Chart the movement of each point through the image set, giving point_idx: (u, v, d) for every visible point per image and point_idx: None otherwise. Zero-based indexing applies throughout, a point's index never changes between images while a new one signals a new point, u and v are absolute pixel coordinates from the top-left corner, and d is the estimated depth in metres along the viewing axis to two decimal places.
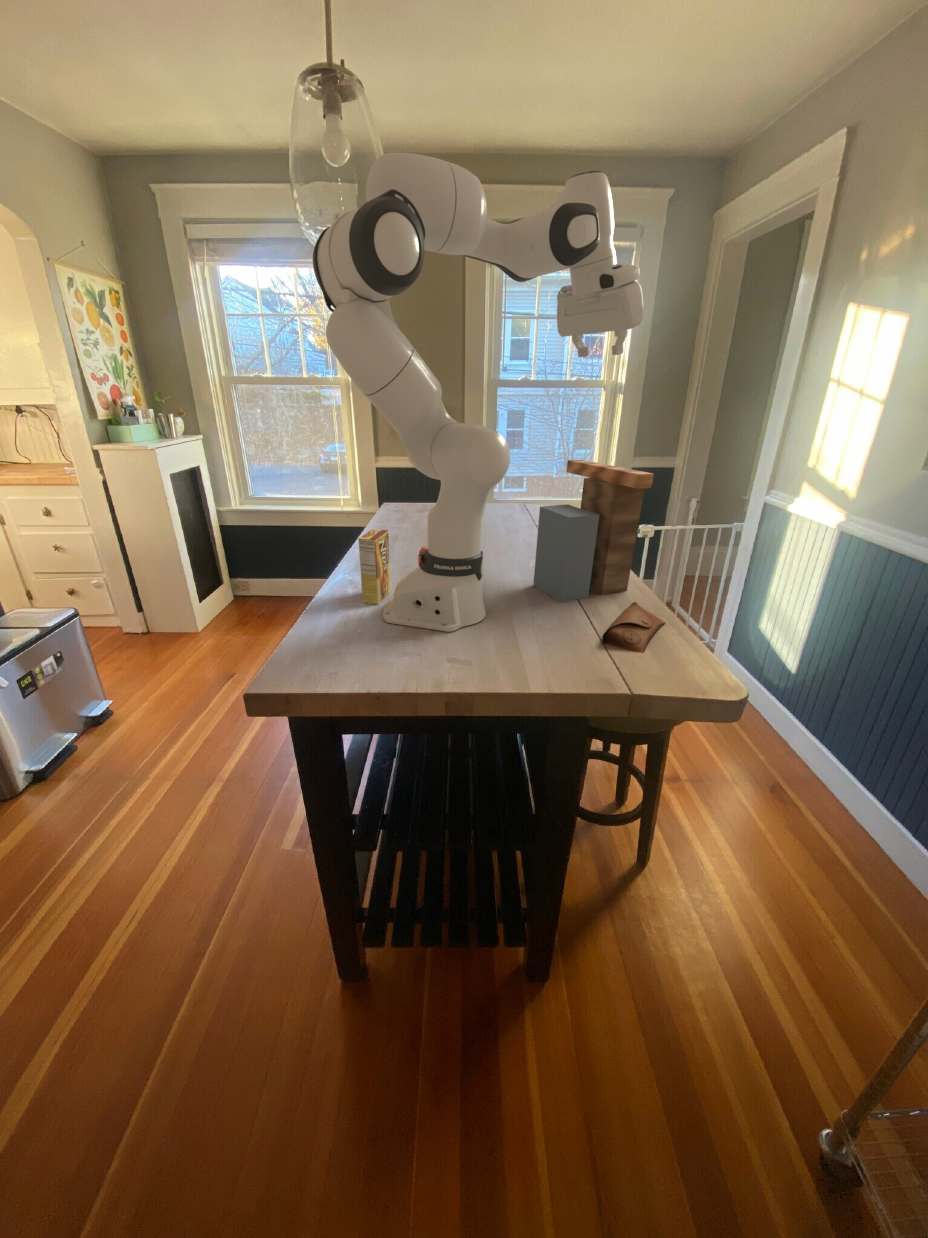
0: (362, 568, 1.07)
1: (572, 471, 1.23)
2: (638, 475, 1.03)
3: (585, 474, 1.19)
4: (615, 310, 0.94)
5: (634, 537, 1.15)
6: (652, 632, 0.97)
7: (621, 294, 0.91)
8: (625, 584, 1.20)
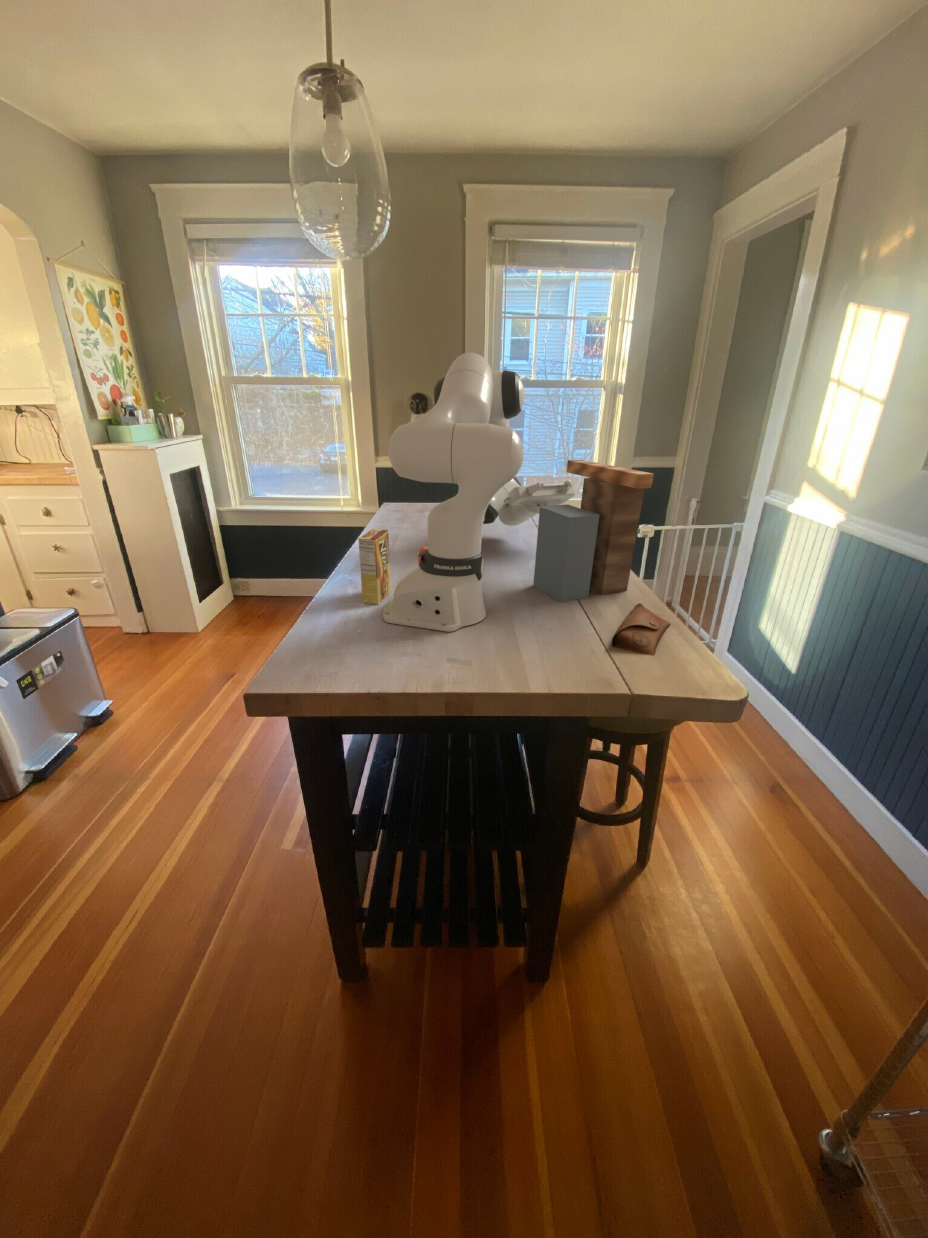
0: (362, 568, 1.07)
1: (572, 471, 1.23)
2: (638, 475, 1.03)
3: (585, 474, 1.19)
4: None
5: (634, 537, 1.15)
6: (660, 634, 0.96)
7: None
8: (625, 584, 1.20)
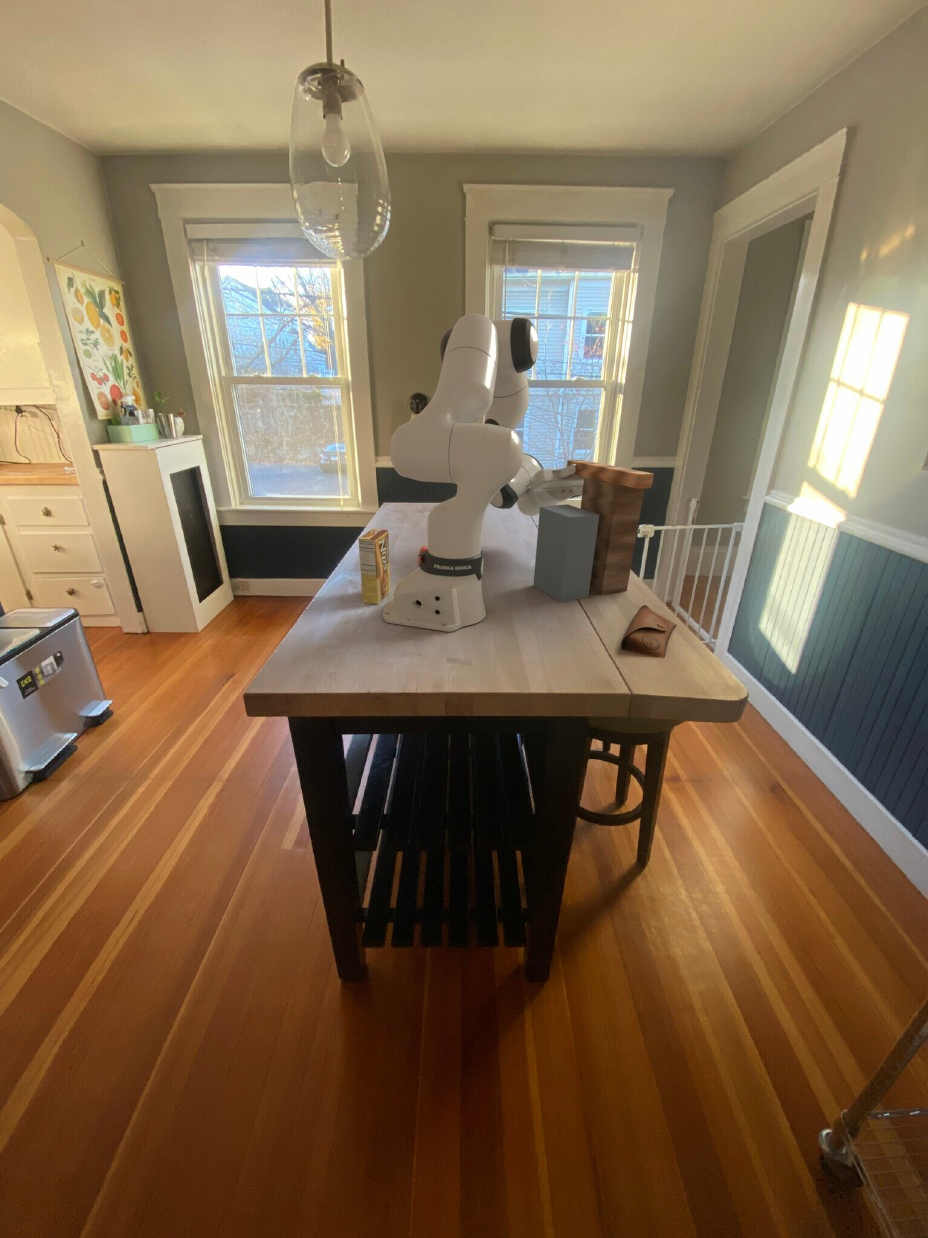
0: (362, 568, 1.07)
1: None
2: (638, 475, 1.03)
3: (585, 474, 1.19)
4: None
5: (634, 537, 1.15)
6: (668, 636, 0.96)
7: None
8: (625, 584, 1.20)
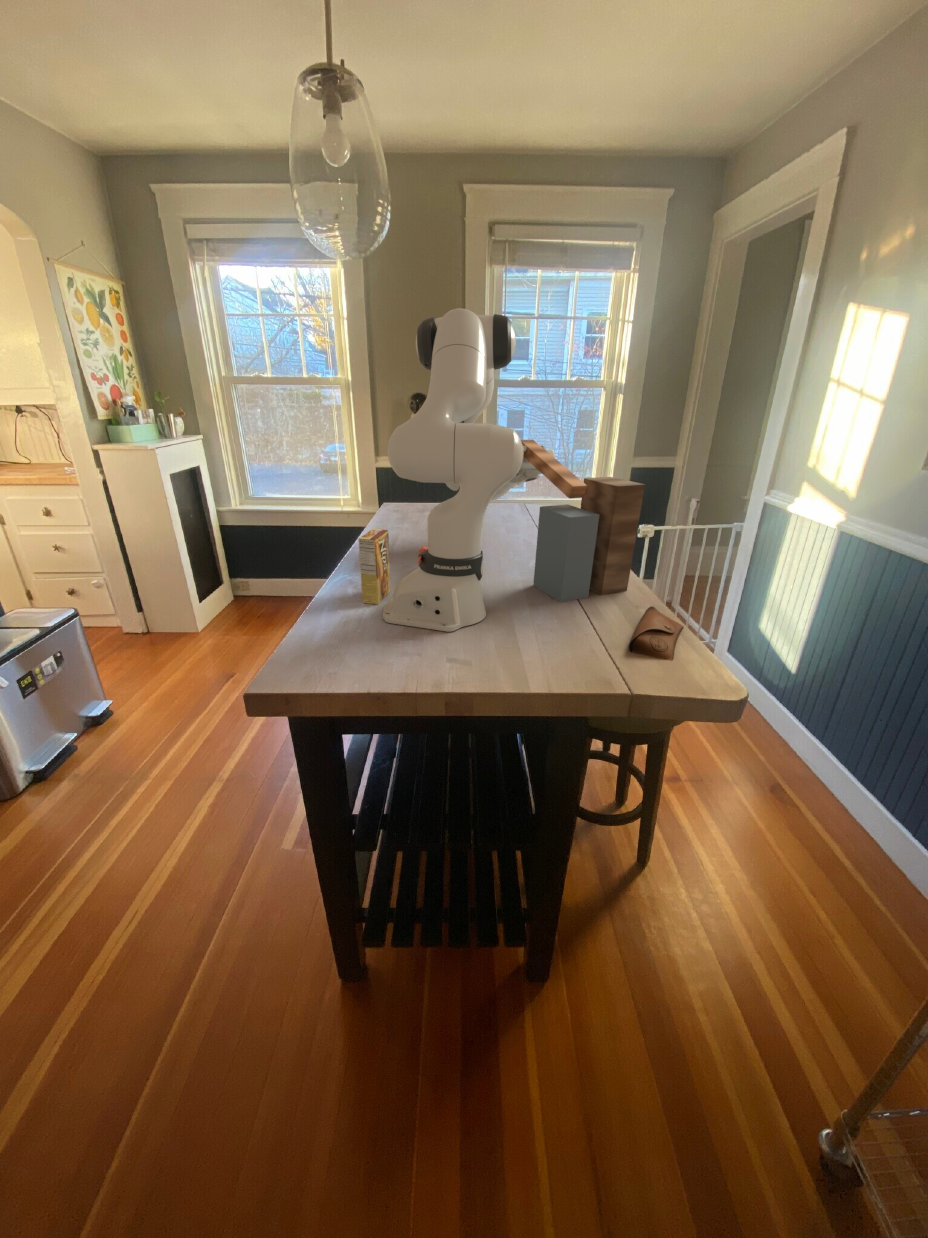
0: (362, 568, 1.07)
1: None
2: (571, 486, 1.10)
3: (532, 462, 1.23)
4: None
5: (634, 537, 1.15)
6: (676, 638, 0.95)
7: None
8: (625, 584, 1.20)
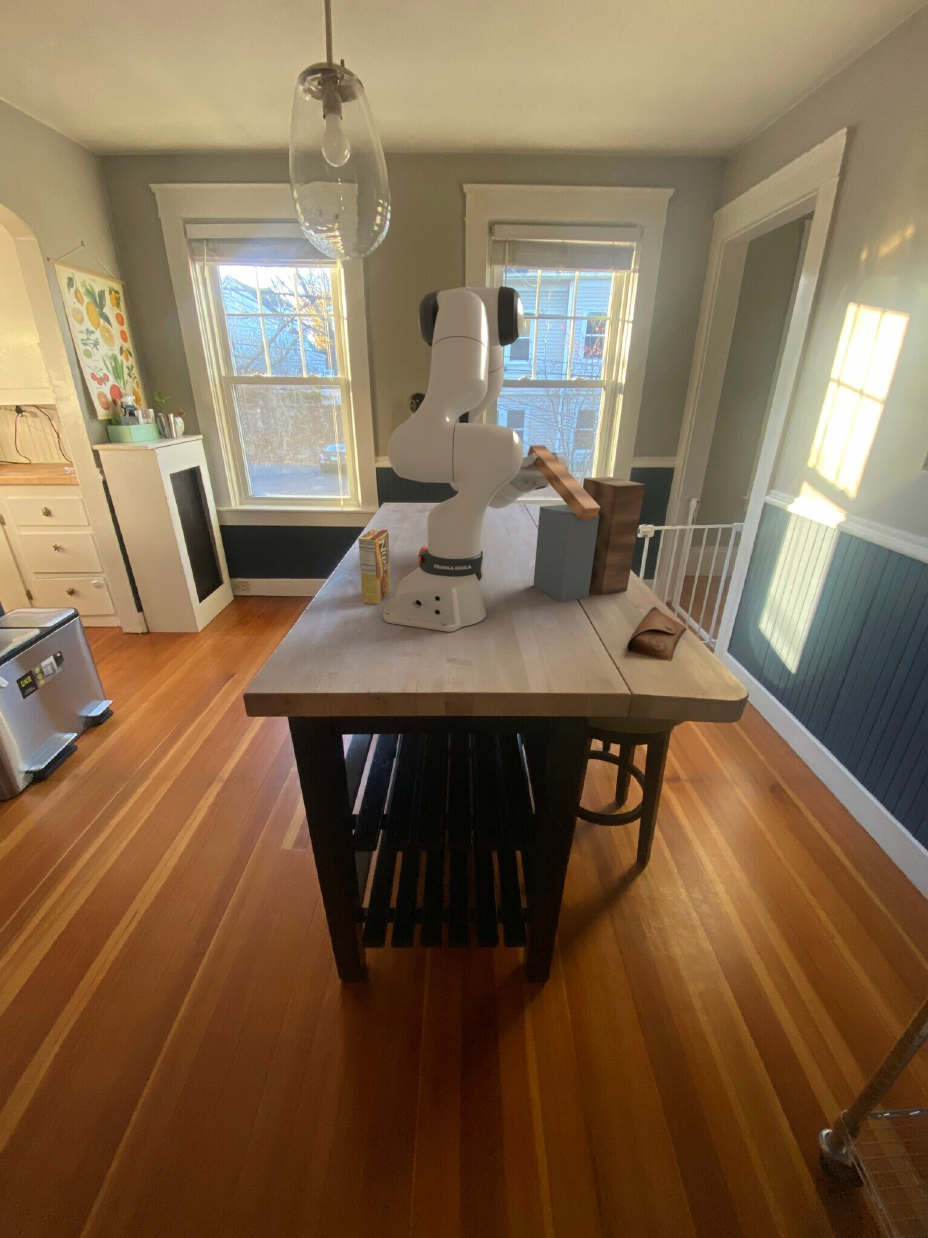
0: (362, 568, 1.07)
1: None
2: (584, 508, 1.03)
3: (542, 472, 1.15)
4: None
5: (634, 537, 1.15)
6: (677, 638, 0.94)
7: None
8: (625, 584, 1.20)
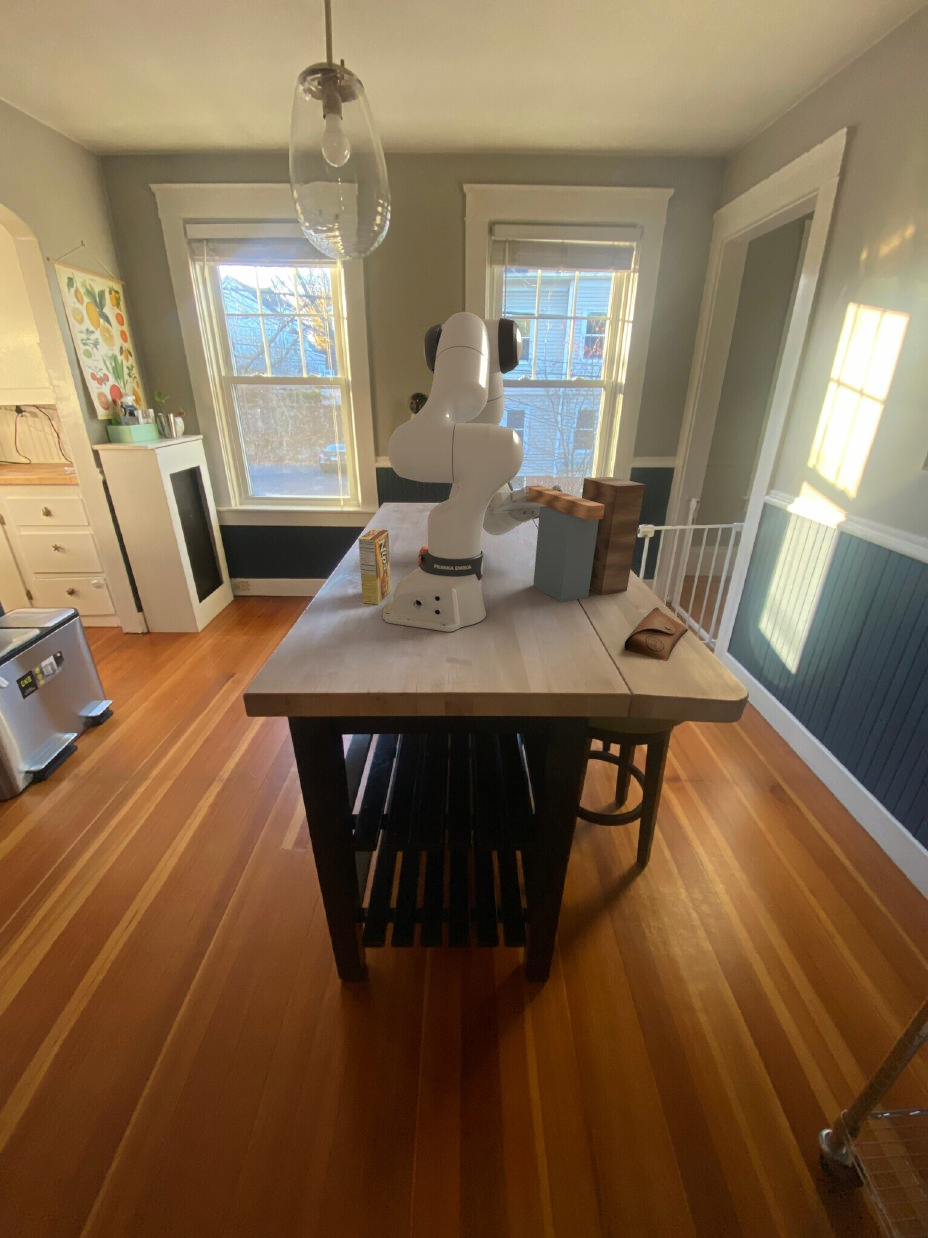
0: (362, 568, 1.07)
1: (530, 497, 1.22)
2: (588, 507, 1.02)
3: (541, 501, 1.17)
4: None
5: (634, 537, 1.15)
6: (675, 639, 0.94)
7: None
8: (625, 584, 1.20)
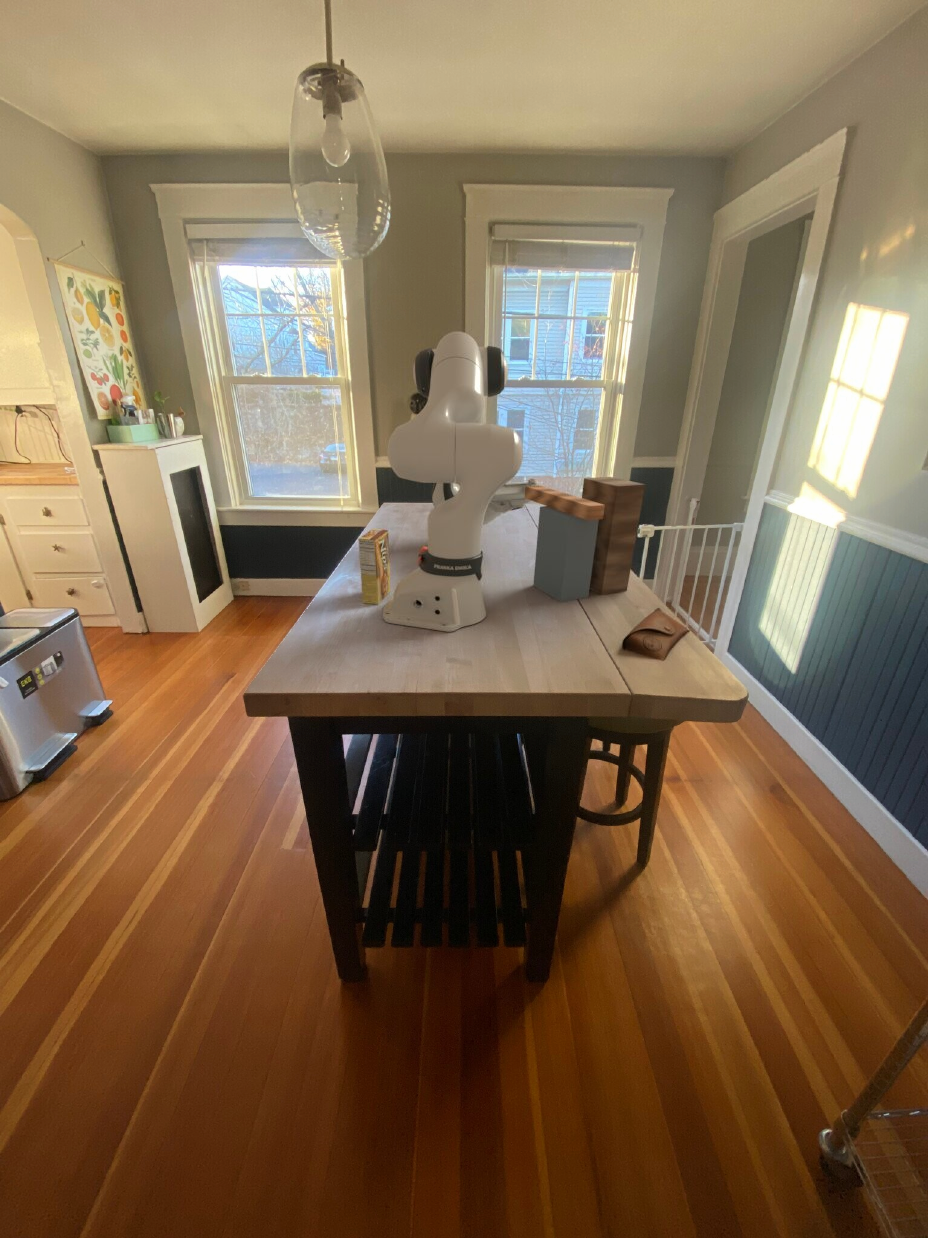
0: (362, 568, 1.07)
1: (530, 497, 1.22)
2: (588, 507, 1.02)
3: (541, 501, 1.17)
4: None
5: (634, 537, 1.15)
6: (675, 639, 0.94)
7: None
8: (625, 584, 1.20)
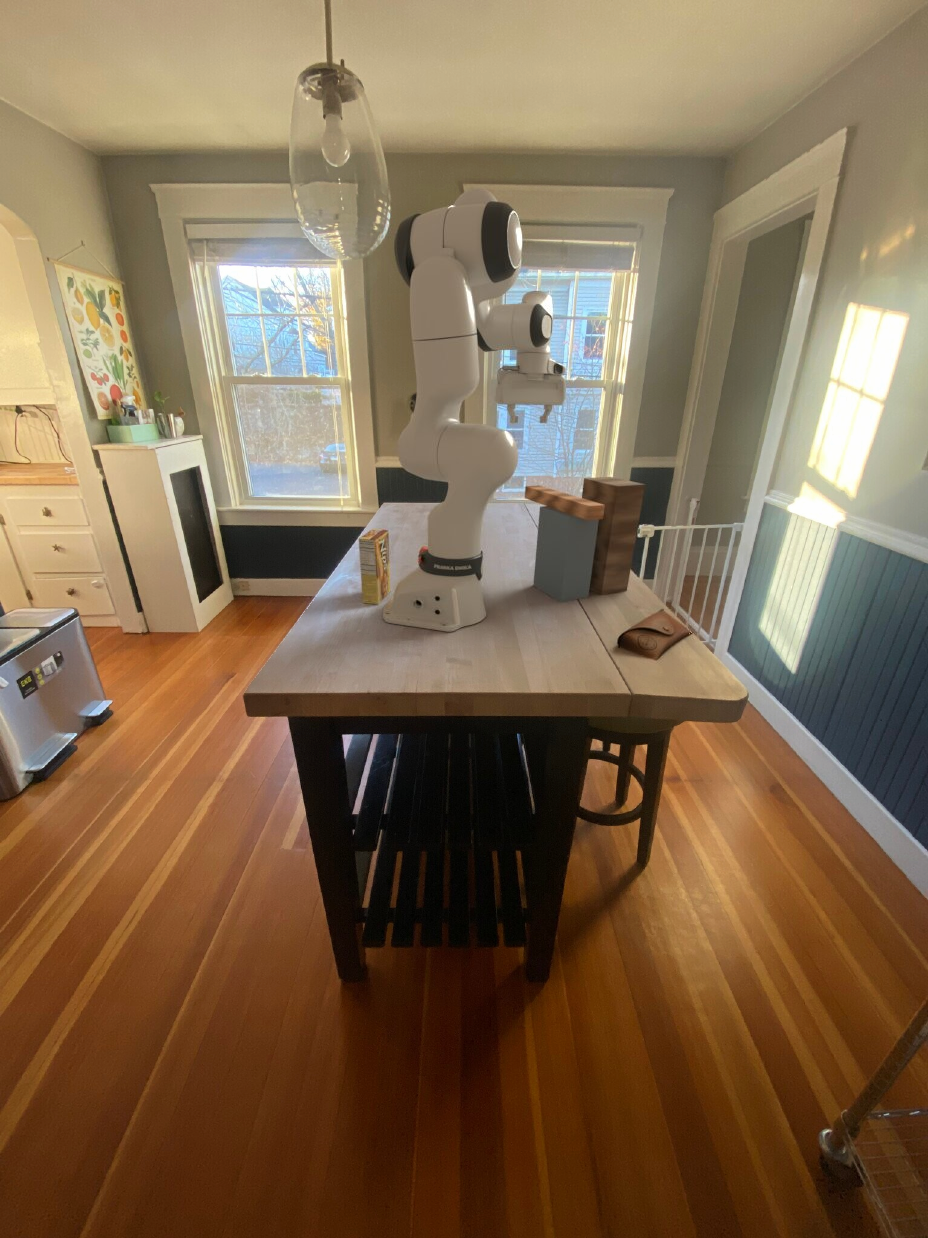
0: (362, 568, 1.07)
1: (530, 497, 1.22)
2: (588, 507, 1.02)
3: (541, 501, 1.17)
4: (554, 390, 1.30)
5: (634, 537, 1.15)
6: (673, 640, 0.94)
7: (563, 380, 1.30)
8: (625, 584, 1.20)
